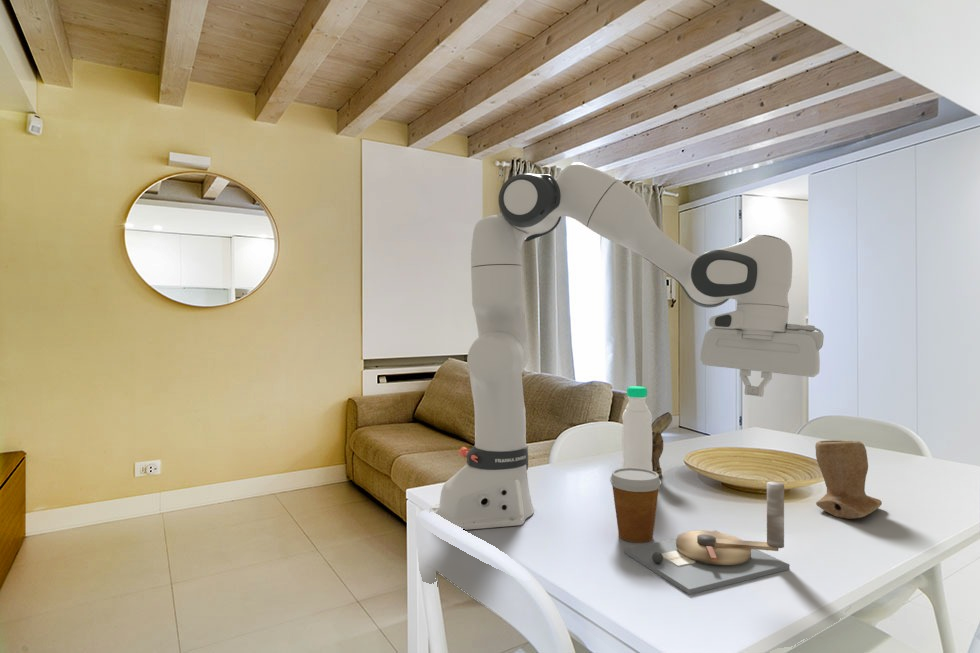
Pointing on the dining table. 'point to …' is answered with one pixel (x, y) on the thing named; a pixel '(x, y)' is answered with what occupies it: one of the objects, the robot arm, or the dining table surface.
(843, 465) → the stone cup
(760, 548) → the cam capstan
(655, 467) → the stone sculpture
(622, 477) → the disposable coffee cup
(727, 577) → the base board
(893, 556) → the dining table surface
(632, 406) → the water bottle
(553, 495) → the dining table surface
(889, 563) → the dining table surface
